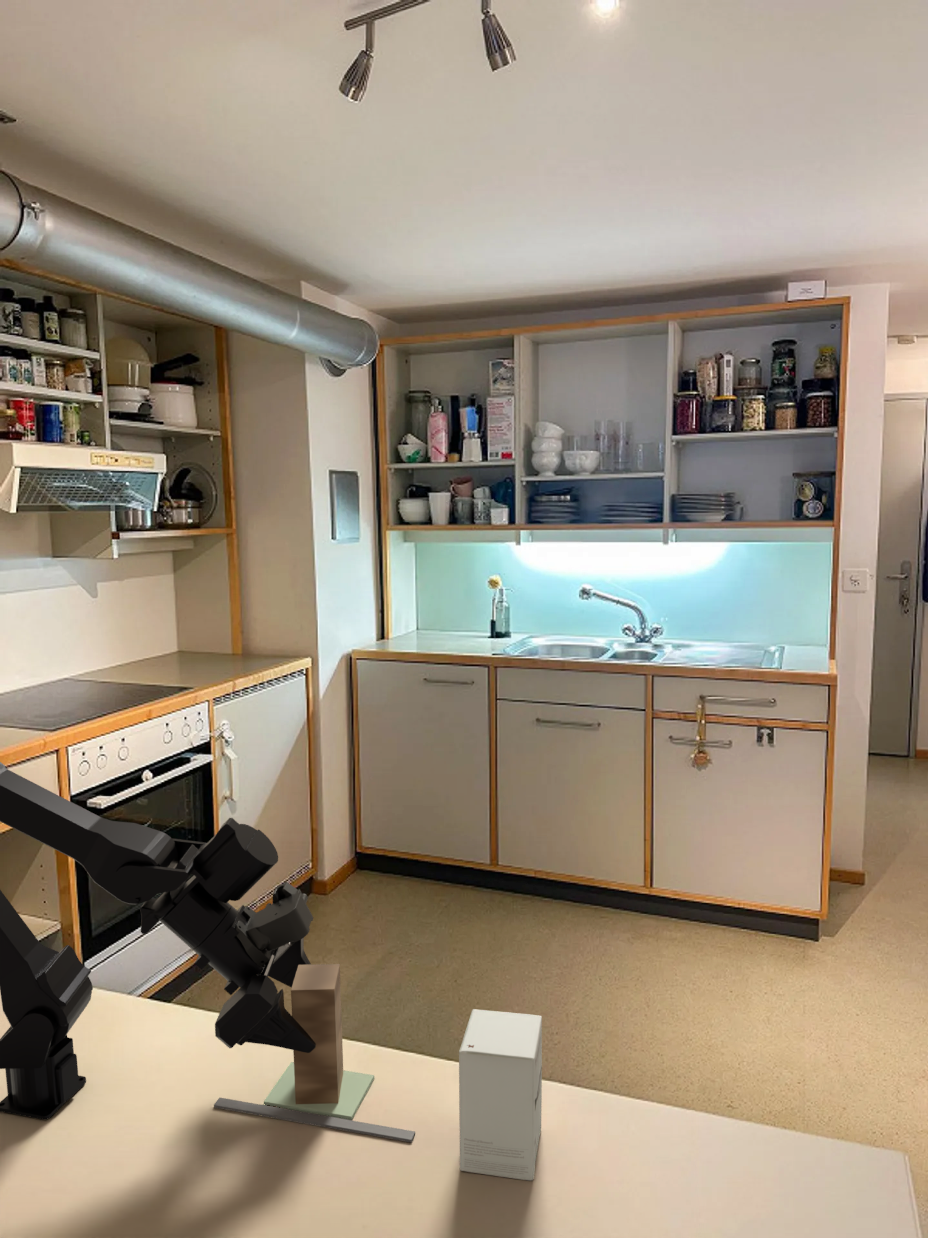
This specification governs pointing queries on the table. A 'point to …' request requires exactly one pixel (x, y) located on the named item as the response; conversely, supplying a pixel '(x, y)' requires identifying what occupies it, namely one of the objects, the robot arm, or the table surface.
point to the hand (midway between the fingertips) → (319, 1022)
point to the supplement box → (500, 1094)
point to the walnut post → (318, 1033)
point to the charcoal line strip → (315, 1119)
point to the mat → (346, 1108)
